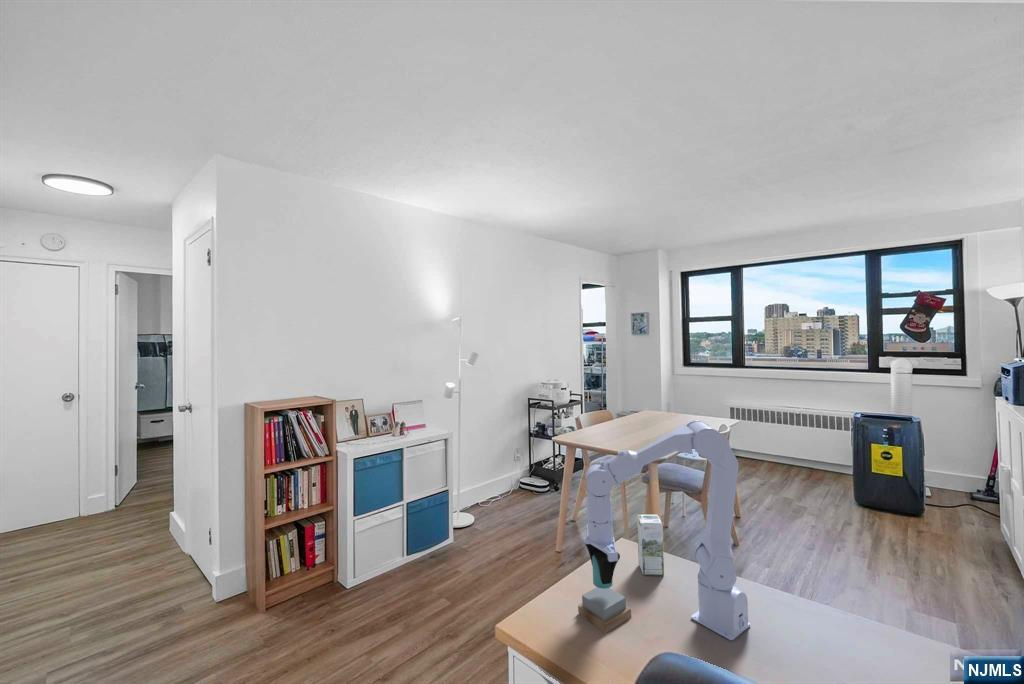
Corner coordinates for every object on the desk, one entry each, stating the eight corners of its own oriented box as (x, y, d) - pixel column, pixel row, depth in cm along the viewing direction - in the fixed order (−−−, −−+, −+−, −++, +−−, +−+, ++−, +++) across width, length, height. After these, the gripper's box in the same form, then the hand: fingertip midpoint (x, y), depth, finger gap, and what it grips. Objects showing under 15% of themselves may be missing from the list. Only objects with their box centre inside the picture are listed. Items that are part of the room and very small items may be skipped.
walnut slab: (631, 619, 99) (630, 608, 99) (605, 635, 94) (605, 624, 94) (603, 602, 106) (603, 591, 106) (578, 616, 101) (578, 605, 101)
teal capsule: (616, 583, 99) (615, 557, 99) (603, 590, 97) (602, 564, 97) (602, 575, 103) (601, 550, 103) (589, 582, 100) (588, 556, 100)
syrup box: (659, 564, 120) (657, 513, 120) (664, 576, 114) (662, 522, 114) (638, 564, 121) (636, 513, 121) (642, 576, 115) (640, 522, 115)
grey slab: (626, 608, 99) (625, 597, 99) (604, 621, 95) (604, 609, 95) (603, 594, 105) (602, 584, 105) (582, 605, 101) (581, 595, 101)
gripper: (573, 508, 106) (575, 563, 106) (594, 534, 92) (597, 597, 92) (600, 505, 107) (602, 559, 107) (625, 530, 93) (628, 593, 93)
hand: (602, 576), depth 100 cm, fingers closed on teal capsule, 4 cm apart
